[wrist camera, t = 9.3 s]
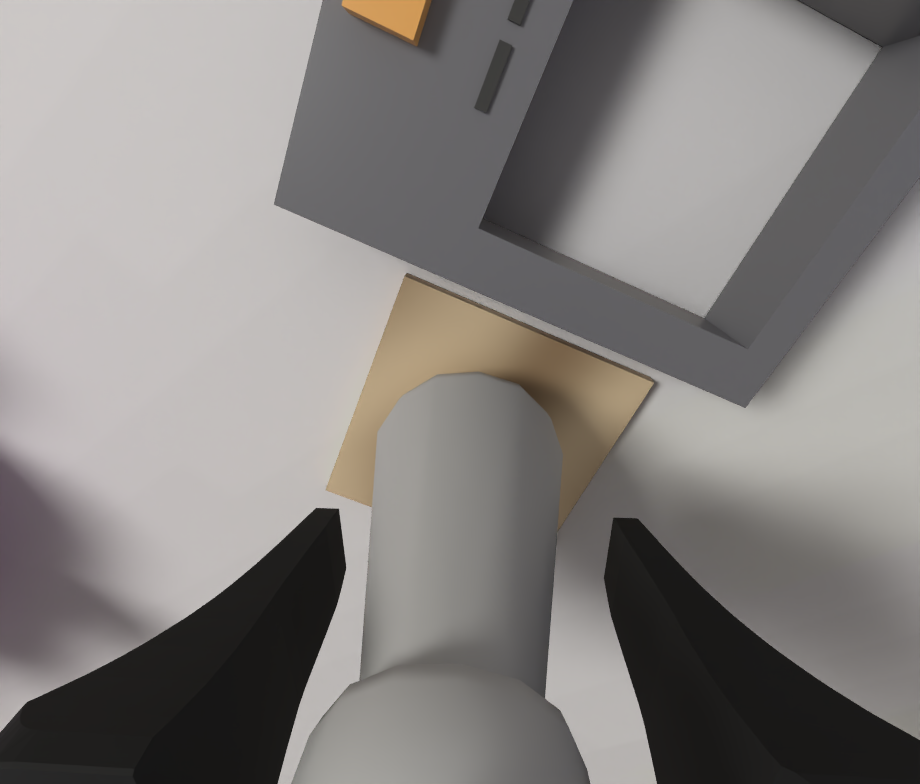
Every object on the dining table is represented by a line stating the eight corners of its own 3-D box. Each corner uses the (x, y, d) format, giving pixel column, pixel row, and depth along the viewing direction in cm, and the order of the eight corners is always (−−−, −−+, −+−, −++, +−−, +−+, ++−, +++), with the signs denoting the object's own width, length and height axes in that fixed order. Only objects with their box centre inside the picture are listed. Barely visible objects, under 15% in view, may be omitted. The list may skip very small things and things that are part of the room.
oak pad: (649, 376, 17) (654, 382, 17) (533, 558, 21) (534, 566, 20) (406, 272, 16) (404, 276, 16) (329, 482, 20) (325, 490, 19)
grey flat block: (958, -2, 12) (1125, -61, 9) (703, 369, 17) (755, 417, 14) (445, -298, 11) (427, -498, 8) (312, 197, 15) (264, 206, 12)
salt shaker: (395, 337, 16) (156, 771, 5) (566, 357, 16) (762, 844, 5) (387, 481, 19) (218, 1006, 7) (535, 499, 19) (614, 1055, 7)
